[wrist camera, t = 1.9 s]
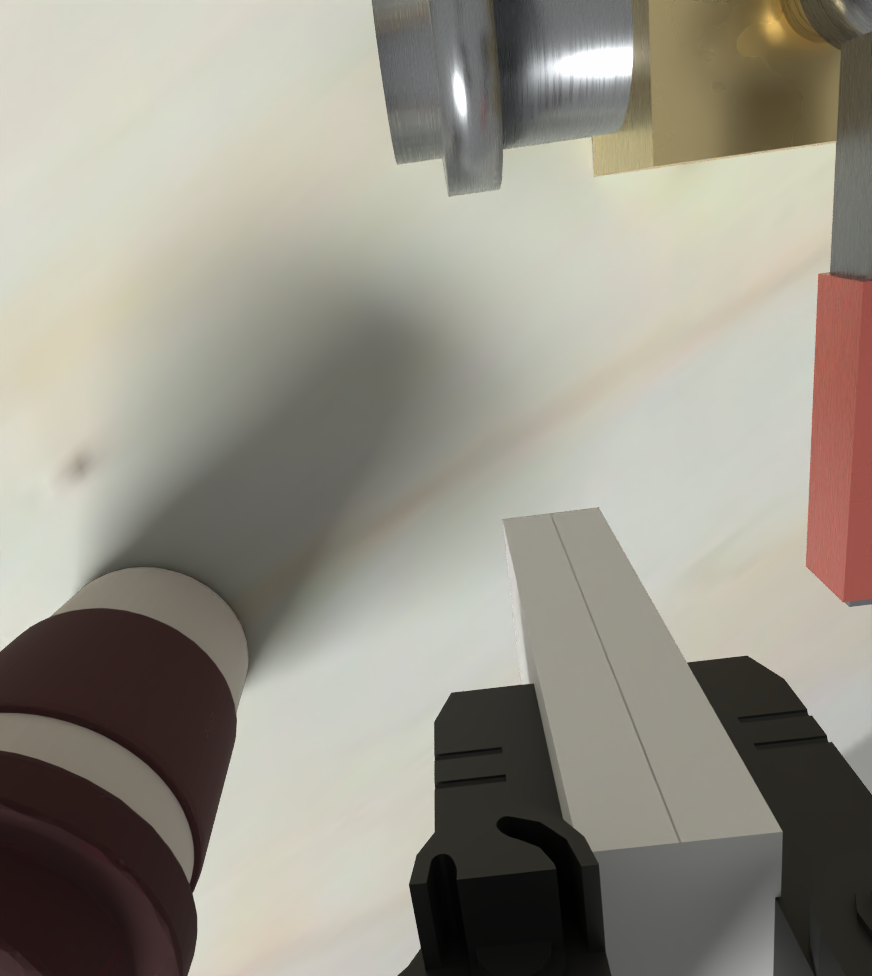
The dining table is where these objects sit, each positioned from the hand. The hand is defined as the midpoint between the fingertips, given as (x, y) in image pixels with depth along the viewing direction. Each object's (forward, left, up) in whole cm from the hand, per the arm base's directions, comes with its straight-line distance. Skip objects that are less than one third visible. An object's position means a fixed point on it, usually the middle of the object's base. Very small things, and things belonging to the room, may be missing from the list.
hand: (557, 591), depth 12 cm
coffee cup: (+9, -14, -15) cm, 22 cm away
